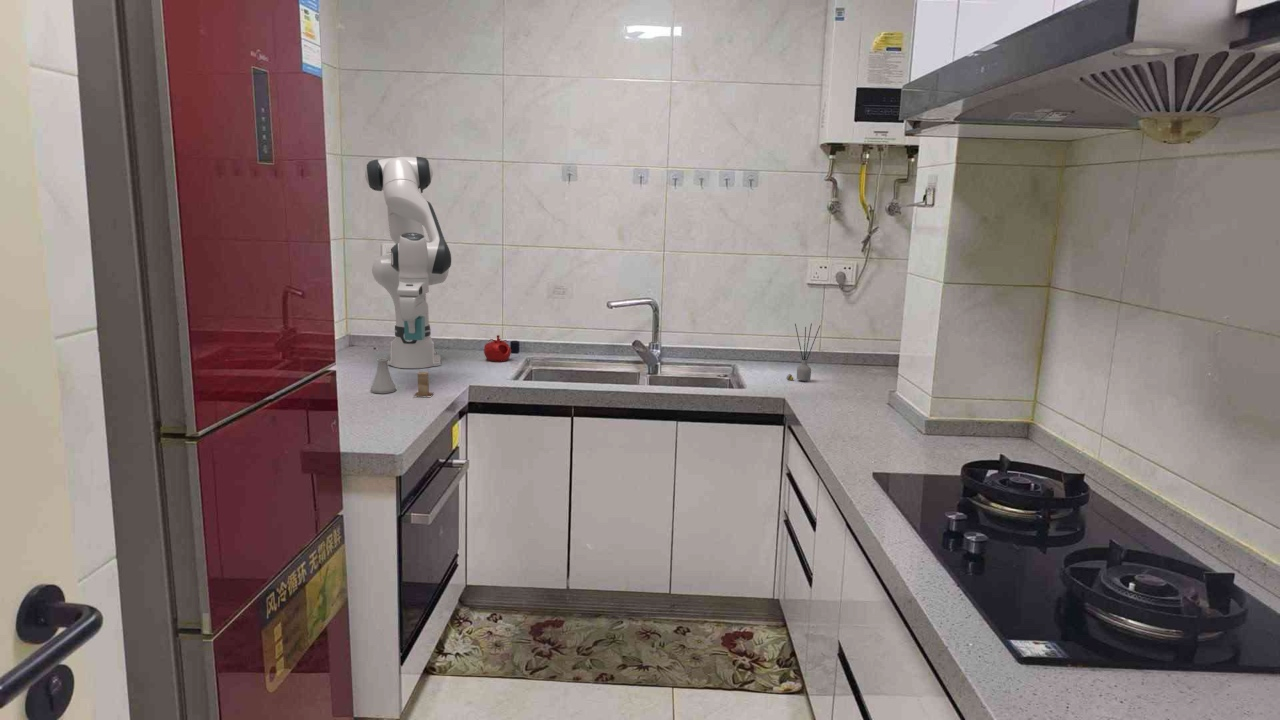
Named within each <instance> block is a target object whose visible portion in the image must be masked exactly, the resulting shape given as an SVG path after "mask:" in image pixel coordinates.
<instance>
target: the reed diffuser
mask: <svg viewBox="0 0 1280 720" xmlns="http://www.w3.org/2000/svg"><path fill="white" fill-rule="evenodd" d="M794 326H795V331H796V336H797V340H798V344H799V345H798V346H799V350H800V355H801V364H800V365H799V366H798V367H797V369H796V379H797V380H798V381H810V380H811V375H812V368H811V366H809V365H808V359H809V356H810V354H811V351H812V348H813V347H814V346H813V345H814V343H815V341H816V338H817V335H818V334H819V333H818V332H819V330H820V328H821V325H819V326H818V329H817V331H816V334H815V337H814V339H813V342H812V344H811V347H810V349H809V353H808V354H807V352H808V348H809V347H808V345H809V341H810V336H811V330H812V326H813V325H812V322H811V323H810V327H809V334H808V338H807V343H806V342H803V343H804V345H803V352H802V349H801V348H802V347H801V343H800V338H799V333H798V328H797V324H796V323H794ZM806 334H807V326H805V327H804V340H806V336H807V335H806ZM786 380H788V381H789V380H790V381H794V377H793V374H792V373H789V374H787V375H786Z"/></svg>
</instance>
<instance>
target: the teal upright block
mask: <svg viewBox="0 0 1280 720" xmlns="http://www.w3.org/2000/svg"><path fill="white" fill-rule="evenodd" d="M415 327H416V332H415V333H409V327H408V323H407V321H404V332H405V340H423V339H424V338H425V316H419V317H418V318H416V319H415Z"/></svg>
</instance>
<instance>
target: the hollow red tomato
mask: <svg viewBox="0 0 1280 720" xmlns="http://www.w3.org/2000/svg"><path fill="white" fill-rule="evenodd" d="M500 337H501V336H500V335H499V334H498V335H496V339H492V338H490V339H489V340H488V342H487V343H486V344H484V348H483V354H484V356H485V358H486V359H487V360H488V361H490V362H506V361H508V359H509V358H510V357H511V355H512V354H511V353H512V348H511V347H510V346H509V344H508V343H509V342H510V341H508V340H507V339H505V340H502V338H500ZM509 360H510V359H509Z"/></svg>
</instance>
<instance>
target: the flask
mask: <svg viewBox="0 0 1280 720" xmlns="http://www.w3.org/2000/svg"><path fill="white" fill-rule="evenodd" d="M388 361H389V358H383V357H382V358H377V359H376V362H377V370H376V374H375V376H374V379H373V382H372V385H371V388H370V390H369V391H370V392H371V393H373V394H383V395H384V394H390V393H394V392H396V391H397V388H396V385H395V383H394V381H393V379H392V375H391V373H390V370H389V367H388V366H389V365H388V364H387V362H388Z"/></svg>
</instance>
